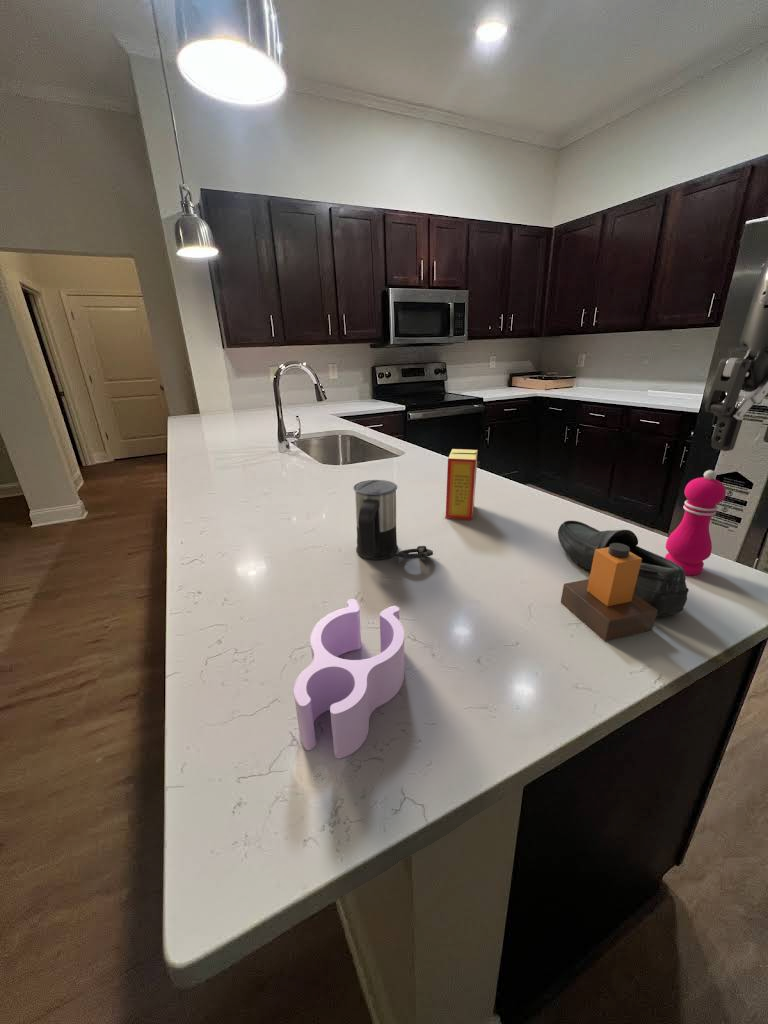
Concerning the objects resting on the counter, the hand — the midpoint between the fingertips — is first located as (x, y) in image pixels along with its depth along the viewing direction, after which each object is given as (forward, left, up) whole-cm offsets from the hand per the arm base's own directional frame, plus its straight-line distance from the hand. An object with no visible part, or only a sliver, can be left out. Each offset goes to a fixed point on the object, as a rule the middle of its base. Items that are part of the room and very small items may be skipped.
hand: (747, 446), depth 51 cm
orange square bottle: (+10, -4, -22) cm, 24 cm away
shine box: (+10, -4, -30) cm, 32 cm away
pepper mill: (-8, -24, -30) cm, 39 cm away
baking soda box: (+37, -43, -30) cm, 64 cm away
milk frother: (+49, -17, -30) cm, 60 cm away
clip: (+46, +20, -30) cm, 59 cm away
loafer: (+6, -18, -30) cm, 36 cm away
